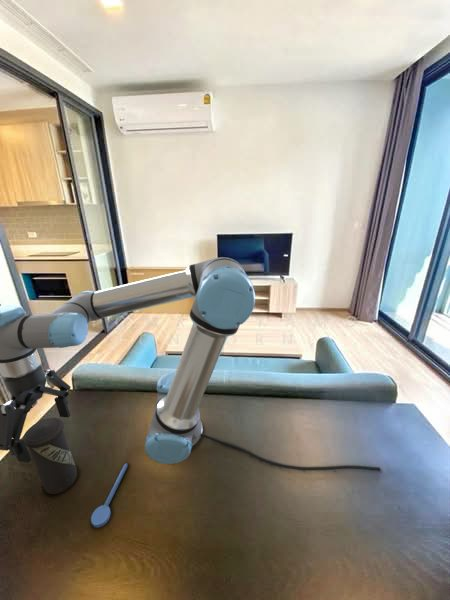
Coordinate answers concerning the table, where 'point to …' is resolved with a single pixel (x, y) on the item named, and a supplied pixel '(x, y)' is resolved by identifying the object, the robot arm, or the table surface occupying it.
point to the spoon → (106, 504)
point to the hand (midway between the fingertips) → (47, 436)
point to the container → (51, 454)
